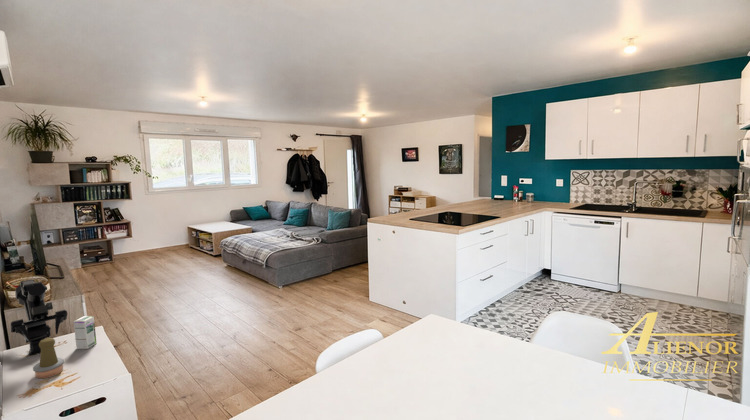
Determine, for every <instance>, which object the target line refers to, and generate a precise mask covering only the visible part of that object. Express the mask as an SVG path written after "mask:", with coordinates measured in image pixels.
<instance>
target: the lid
mask: <svg viewBox="0 0 750 420" xmlns="http://www.w3.org/2000/svg"><path fill="white" fill-rule="evenodd" d="M57 359H58V363H56V364H55V365H52V366H49V367H43V368H42V367H40V366H39V365H40V361H39V362H38V363H36V364H35V365H33V366H32V371H33V372H34V373H35V372H45V371H49V370H52V369H55V368H57V367H59V366H61V365H62V364H63V365H64V363H65V360H64V358H62V357H57Z"/></svg>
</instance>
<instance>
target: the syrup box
mask: <svg viewBox="0 0 750 420" xmlns="http://www.w3.org/2000/svg"><path fill="white" fill-rule="evenodd" d="M95 323H96V322H95V317H94V315H84V316H81V317H80V318H78V319H75V320H73V326H74V328H73V329H74V337H75V345H76V346H75V347H76V349H77V350H78V349H79V350H80V349H81V350H88V349H90V348H91V347H94V346H95V345H96V344H97V334H96V326H95Z"/></svg>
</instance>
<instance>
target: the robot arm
mask: <svg viewBox="0 0 750 420" xmlns="http://www.w3.org/2000/svg"><path fill="white" fill-rule="evenodd" d="M47 290H48V287H47V285H45V284H44V283H42V281H36V282H35V279H27V280H22V281H20V283H19V285H18V286H17V287H16V288H15V290H14V291H15V292H14V293H15V295H14V296H15V300H17V301H18V304H20V305H22V306H23V307H24V310H25V315H26V317H27V320H26V321H24V318H21V319H17V320H12V321H11V322H10V324H9V325H10V326H9V327H10V328H9V329H10V333H12V334H13V333H15V334H19V335H21V336H22V337H23V339H24V342H25V343H26V344H28V343H29V351H28V356H31V355H32V356H33V355H37V354H41V348H40V347H39V342H40V341H41V340H43V339H47V338H51V335H52V333H51V330H52V329H51V326H49V324H47V322H49V321H53V320H55V322H54V327H55V329H54V330H55V335H58V334H59V328H60V325H61V323H63V322H64V321H66V320H67V319H68V310H66V309H62V310H57V311H55V312H54V314H51V315H49V311H50V310H51V311H52V310H53V309H54V306H53V303H52V302H47V303H46V302H45V297H46V292H47Z"/></svg>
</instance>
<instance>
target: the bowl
mask: <svg viewBox="0 0 750 420" xmlns="http://www.w3.org/2000/svg"><path fill="white" fill-rule="evenodd" d="M63 370H64V363H63V364H62V365H61V366H59V367H57V368H55V369H52V370H49V371H45V372H35V371H34V376H35V378H37V379H47V378H51V377H54V376H57V375H59V374H60V373H61V372H62V371H63Z"/></svg>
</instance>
